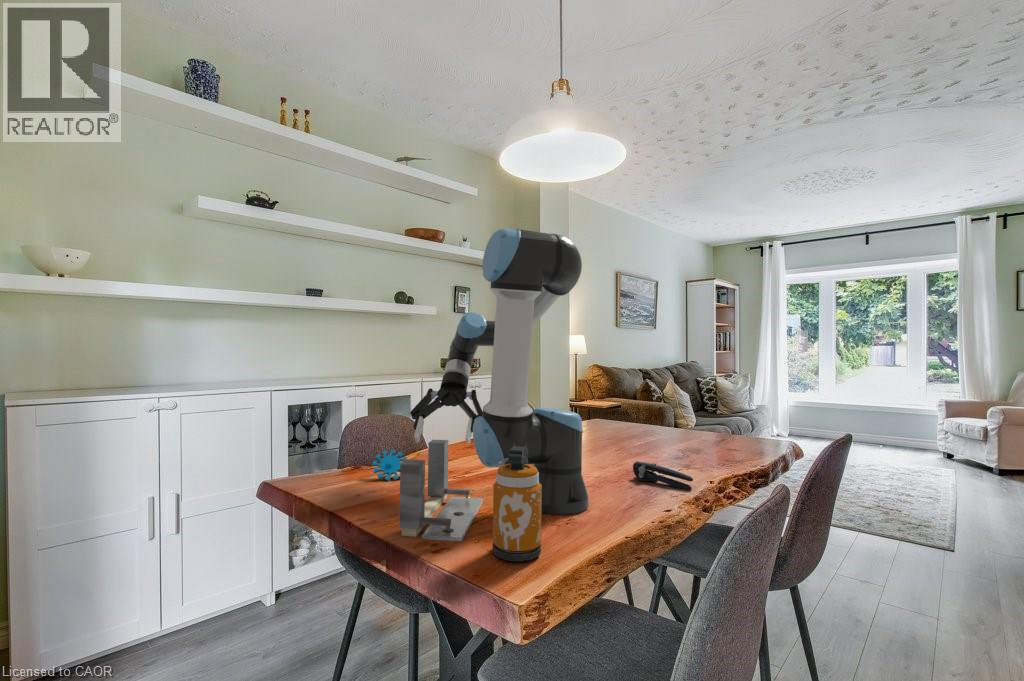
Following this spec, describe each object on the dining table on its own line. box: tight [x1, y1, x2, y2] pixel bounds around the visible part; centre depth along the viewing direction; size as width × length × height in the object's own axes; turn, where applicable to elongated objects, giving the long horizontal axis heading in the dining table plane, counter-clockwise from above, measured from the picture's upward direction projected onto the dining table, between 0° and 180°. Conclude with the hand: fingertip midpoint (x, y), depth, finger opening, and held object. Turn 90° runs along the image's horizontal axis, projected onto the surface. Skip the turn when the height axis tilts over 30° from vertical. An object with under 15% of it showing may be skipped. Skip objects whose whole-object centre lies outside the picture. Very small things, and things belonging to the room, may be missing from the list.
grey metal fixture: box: [398, 458, 451, 538], centre depth 110 cm, size 26×10×14 cm, turn 174°
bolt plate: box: [421, 495, 484, 542], centre depth 108 cm, size 25×8×1 cm, turn 174°
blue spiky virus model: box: [372, 448, 408, 482], centre depth 141 cm, size 11×6×10 cm
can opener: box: [632, 461, 694, 491], centre depth 138 cm, size 18×7×6 cm, turn 47°
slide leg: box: [427, 439, 471, 498], centre depth 119 cm, size 4×10×14 cm, turn 84°
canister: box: [492, 443, 542, 562], centre depth 91 cm, size 9×11×20 cm
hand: (441, 440), depth 126 cm, fingers open, 13 cm apart
